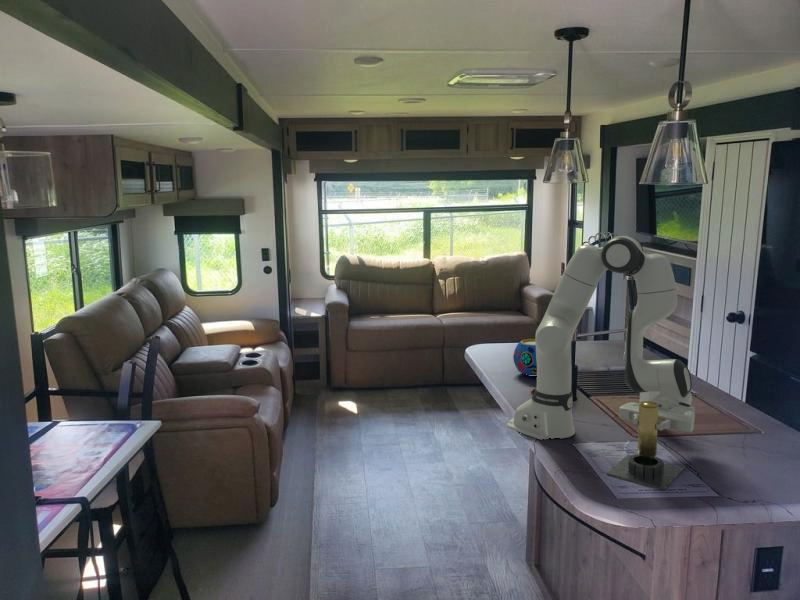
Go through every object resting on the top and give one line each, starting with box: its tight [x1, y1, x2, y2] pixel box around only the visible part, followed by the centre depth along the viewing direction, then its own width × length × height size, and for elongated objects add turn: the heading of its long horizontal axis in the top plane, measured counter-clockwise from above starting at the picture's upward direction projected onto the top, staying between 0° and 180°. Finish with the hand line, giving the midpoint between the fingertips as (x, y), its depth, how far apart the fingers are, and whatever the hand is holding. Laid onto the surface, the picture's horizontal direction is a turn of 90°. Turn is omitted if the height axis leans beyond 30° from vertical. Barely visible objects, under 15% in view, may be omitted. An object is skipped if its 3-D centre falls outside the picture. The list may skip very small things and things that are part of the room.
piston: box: [637, 401, 658, 457], centre depth 179 cm, size 5×5×15 cm
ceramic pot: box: [512, 338, 537, 375], centre depth 276 cm, size 18×18×15 cm
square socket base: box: [606, 453, 685, 492], centre depth 181 cm, size 16×16×4 cm
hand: (646, 424), depth 178 cm, fingers closed on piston, 5 cm apart
